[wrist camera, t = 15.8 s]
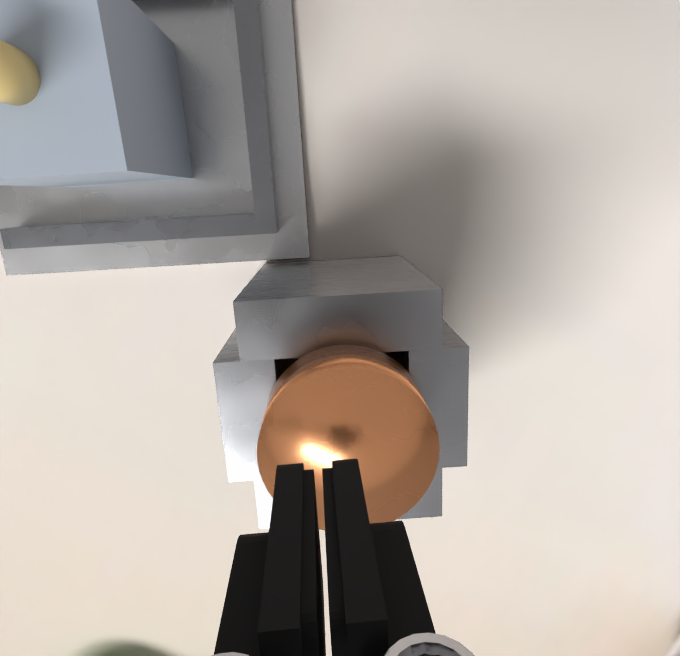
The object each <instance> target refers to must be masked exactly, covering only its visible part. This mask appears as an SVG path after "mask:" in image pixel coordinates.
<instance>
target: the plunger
mask: <svg viewBox="0 0 680 656" xmlns="http://www.w3.org/2000/svg"><path fill="white" fill-rule="evenodd" d="M439 452H440V445H439V436H438V431H437V427H436V424H435V422H434V419H433V417H432V415H431V413H430V411H429V409H428V407H427V405H426V402H425V400H424V398H423V396H422V394H421V392H420V390H419V388H418V386H417V385H416V383H415V381H414V379H413V378H412V377H411V375H410V374H409V373H408V371H407V370H406V369H405V368H404V367H403V366H402V365H401V364H400V363H398V362H397V361H396V360H394V359H393V358H392V357H390V356H388V355H386V354H384V353H383V352H380V351H377V350H375V349H372V348H368V347H364V346H358V345H335V346H329V347H325V348H321V349H318V350H315V351H313V352H310V353H308V354H306V355H305V356H303V357H301V358H299V359H298V360H297V361H295V362H294V363H293V364H291V365H290V366H289V367H288V368H287V369H286V370H285V371H284V372H283V374H282V375H281V376H280V377H279V379H278V380H277V382H276V384H275V385H274V387H273V389H272V391H271V394H270V396H269V399H268V403H267V407H266V411H265V414H264V418H263V422H262V426H261V429H260V433H259V437H258V443H257V462H258V468H259V472H260V475H261V478H262V481H263V483H264V485H265V487H266V489H267V491H268V492H269V494H270V495H271V497H272V498H273V493H274V485H275V476H276V468H277V465H283V464H295V463H303V464H304V470H309V469H314V476H315V489H316V501H317V514H318V527H319V529H321V530H325V517H324V497H323V476H322V468H332V460H344V459H356V458H357V459H358V463H359V468H360V474H361V479H362V485H363V490H364V495H365V501H366V506H367V511H368V517H369V522H370V523H381V522H392V521H394V520H396V519H398V518H399V517H401V516H402V515H404V514H405V513H407V512H408V511H409V510H410V509H411V508H412V507H414V506H415V505H416V504H417V502H418V501H419V500H420V499H421V498H422V497H423V495H424V494H425V493H426V491H427V490H428V488H429V486H430V484H431V483H432V481H433V478H434V476H435V473H436V470H437V466H438V462H439Z"/></svg>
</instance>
